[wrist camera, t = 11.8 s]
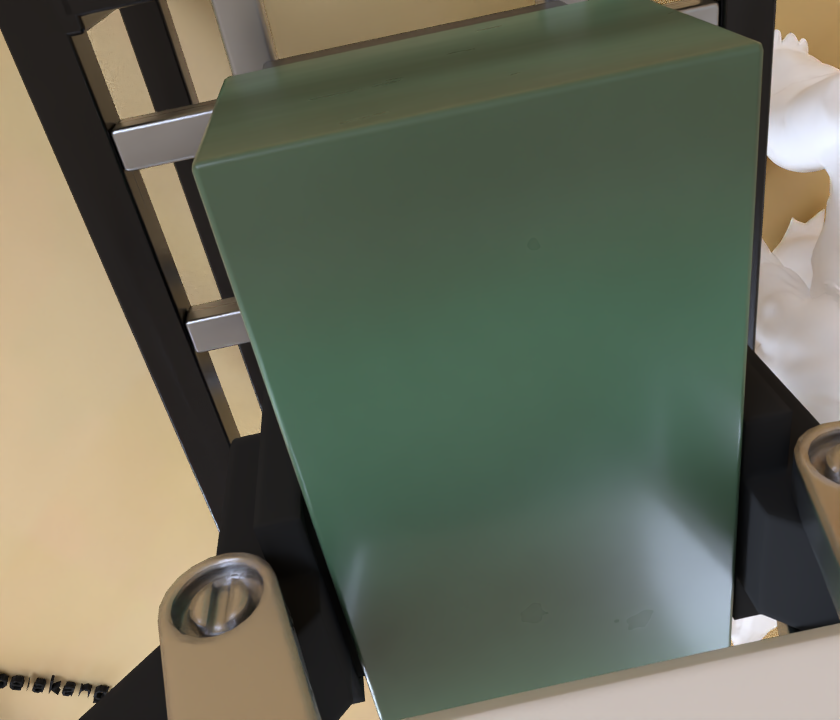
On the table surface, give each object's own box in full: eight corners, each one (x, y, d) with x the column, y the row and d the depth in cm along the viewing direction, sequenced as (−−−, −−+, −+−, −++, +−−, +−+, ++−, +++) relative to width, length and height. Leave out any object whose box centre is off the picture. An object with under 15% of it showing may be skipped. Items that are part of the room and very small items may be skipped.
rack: (597, 345, 25) (742, 582, 17) (291, 411, 25) (283, 683, 17) (563, -174, 18) (792, -211, 10) (128, -83, 18) (-30, -37, 9)
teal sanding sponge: (237, 42, 10) (187, 165, 6) (579, -31, 10) (767, 41, 6) (397, 607, 16) (430, 870, 12) (615, 560, 16) (724, 805, 12)
